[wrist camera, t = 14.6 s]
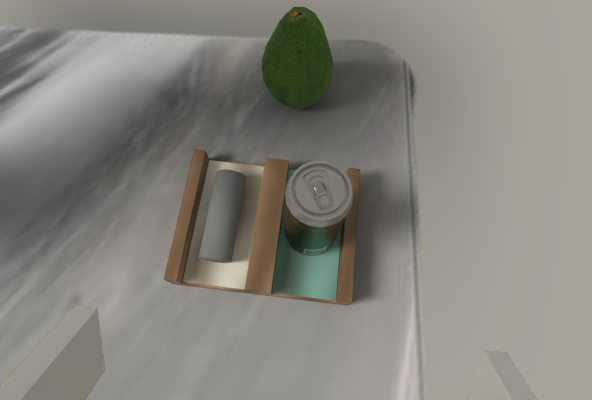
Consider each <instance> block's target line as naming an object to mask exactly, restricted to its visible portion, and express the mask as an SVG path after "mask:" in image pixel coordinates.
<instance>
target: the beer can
mask: <svg viewBox="0 0 592 400" xmlns="http://www.w3.org/2000/svg"><path fill="white" fill-rule="evenodd" d="M352 202H353V192H352V185H351V181H350V179H349V178H348V176H347V174H346V173H345V172H344V171H343V170H342V169H341V168H340V167H339V166H337V165H335V164H332V163H330V162H326V161H312V162H308V163H306V164H304V165H302V166H300V167H299V168H298V169H297V170H296V171H295V172H294V173H293V175H292V176H291V177H290V179H289V181H288V183H287V185H286V190H285V222H284V231H285V237H286V240H287V241H288V243H289V245H290V246H291V247H292V248H293V249H294V250H295V251H297V252H299V253H301V254H303V255H309V256H313V255H319V254H321V253H323V252H325V251H326V250H327V249H328V248H329V247H330V246H331V245H332V244H333V242H334V240H335V238H336V236H337V234H338V232H339V230H340V228H341V226H342V224H343V222H344V220H345V218H346V216H347V214H348V212H349V210H350V208H351V206H352Z"/></svg>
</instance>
